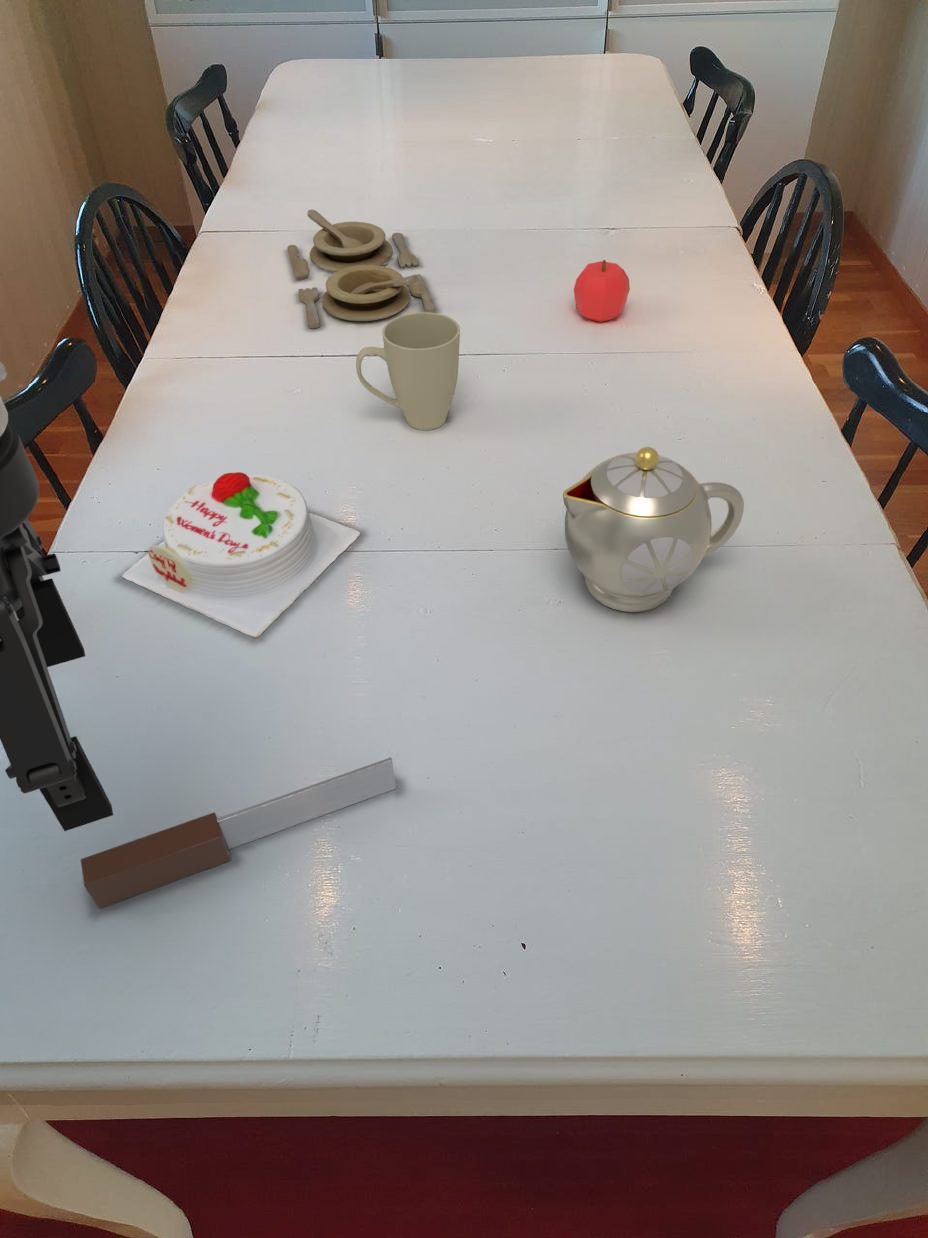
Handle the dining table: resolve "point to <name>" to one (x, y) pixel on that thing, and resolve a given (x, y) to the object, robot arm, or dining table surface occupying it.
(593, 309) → the apple
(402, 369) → the mug
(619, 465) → the teapot
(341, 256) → the tableware set
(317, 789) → the knife
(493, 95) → the dining table surface
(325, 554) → the cake
